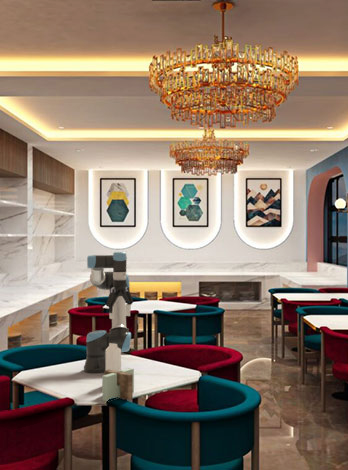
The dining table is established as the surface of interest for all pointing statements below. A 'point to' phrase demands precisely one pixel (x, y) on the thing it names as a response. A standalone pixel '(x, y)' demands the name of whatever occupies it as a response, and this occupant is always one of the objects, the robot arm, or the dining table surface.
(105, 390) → the slot stand
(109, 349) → the milk
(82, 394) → the dining table surface
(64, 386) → the dining table surface
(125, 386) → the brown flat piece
